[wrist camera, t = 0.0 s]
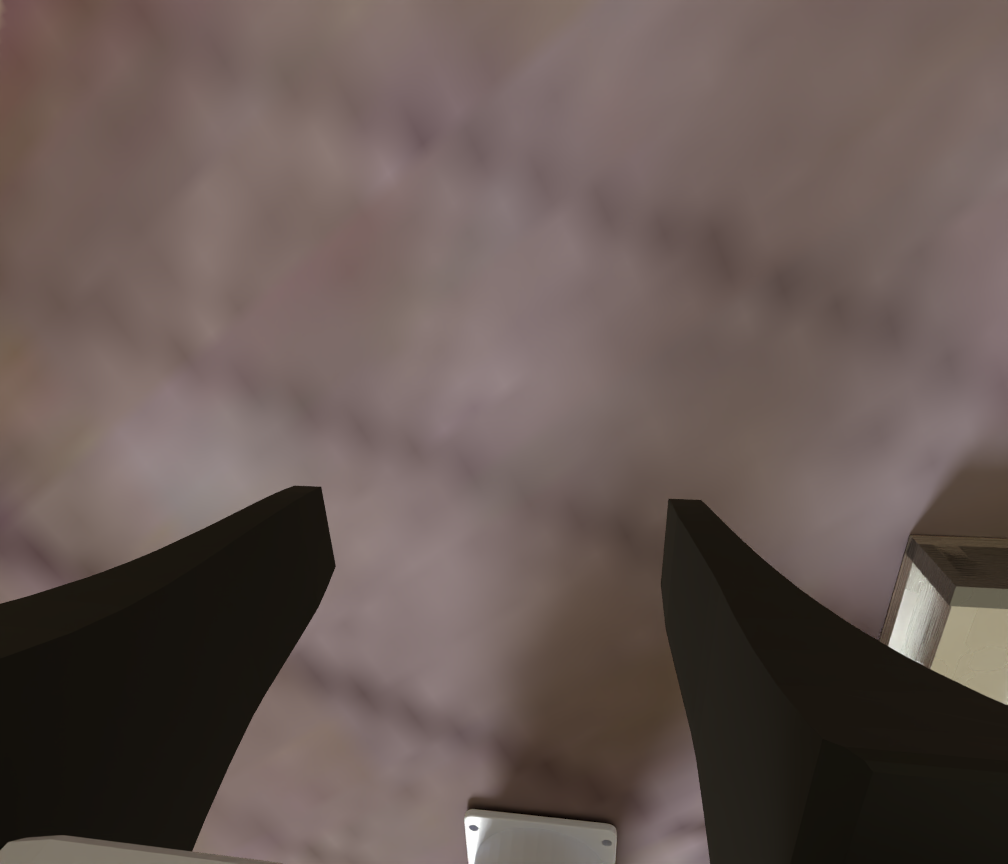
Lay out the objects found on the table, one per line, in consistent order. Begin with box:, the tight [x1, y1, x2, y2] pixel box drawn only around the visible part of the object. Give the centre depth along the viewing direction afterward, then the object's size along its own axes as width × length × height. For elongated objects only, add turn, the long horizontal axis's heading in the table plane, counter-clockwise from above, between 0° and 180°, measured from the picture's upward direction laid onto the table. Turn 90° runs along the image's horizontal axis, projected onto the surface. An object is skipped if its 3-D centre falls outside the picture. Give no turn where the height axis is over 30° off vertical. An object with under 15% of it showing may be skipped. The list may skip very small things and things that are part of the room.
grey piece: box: [880, 535, 1008, 705], centre depth 23 cm, size 15×8×3 cm, turn 2°
